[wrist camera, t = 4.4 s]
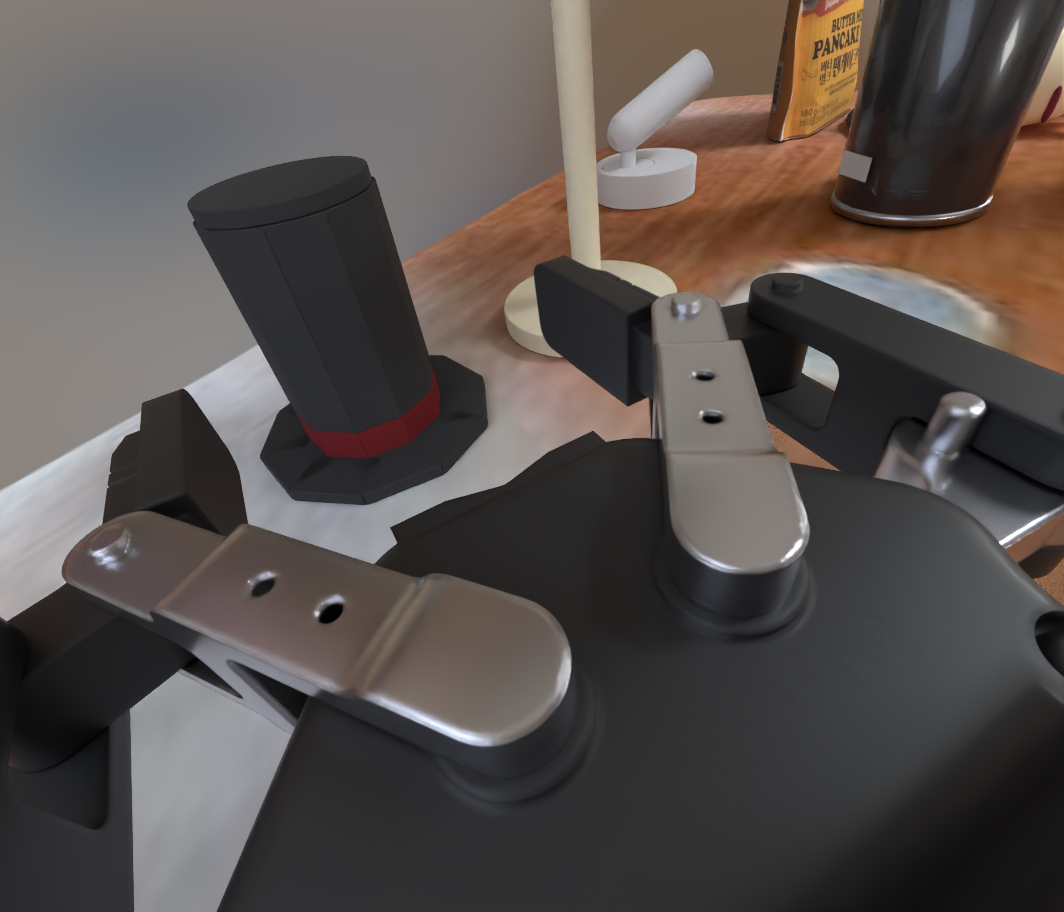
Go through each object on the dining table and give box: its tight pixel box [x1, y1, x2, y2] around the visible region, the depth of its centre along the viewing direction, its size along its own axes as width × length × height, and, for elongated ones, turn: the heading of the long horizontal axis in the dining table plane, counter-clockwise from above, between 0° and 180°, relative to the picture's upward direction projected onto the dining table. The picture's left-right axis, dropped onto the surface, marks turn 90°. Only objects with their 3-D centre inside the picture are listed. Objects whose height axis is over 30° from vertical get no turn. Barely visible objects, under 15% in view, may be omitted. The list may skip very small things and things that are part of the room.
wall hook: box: [596, 49, 713, 210], centre depth 43 cm, size 9×10×10 cm
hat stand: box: [504, 0, 677, 358], centre depth 25 cm, size 10×10×18 cm
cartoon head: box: [1022, 28, 1064, 126], centre depth 45 cm, size 9×10×20 cm
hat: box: [187, 156, 488, 505], centre depth 22 cm, size 11×11×11 cm
